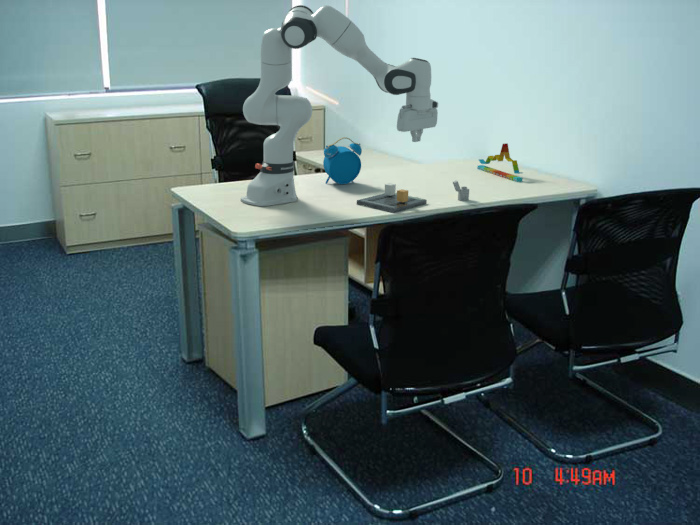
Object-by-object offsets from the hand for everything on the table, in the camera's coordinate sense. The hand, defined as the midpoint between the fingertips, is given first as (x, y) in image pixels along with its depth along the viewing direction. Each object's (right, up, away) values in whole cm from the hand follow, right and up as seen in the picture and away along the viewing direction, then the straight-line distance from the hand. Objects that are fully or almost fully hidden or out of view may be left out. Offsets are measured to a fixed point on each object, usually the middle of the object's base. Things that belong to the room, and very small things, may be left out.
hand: (416, 141), depth 281 cm
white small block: (-9, -19, +12) cm, 24 cm away
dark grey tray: (-9, -23, +6) cm, 25 cm away
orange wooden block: (-5, -22, +2) cm, 23 cm away
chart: (+43, -6, +62) cm, 75 cm away
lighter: (+18, -21, +14) cm, 31 cm away
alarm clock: (-28, -12, +38) cm, 49 cm away
